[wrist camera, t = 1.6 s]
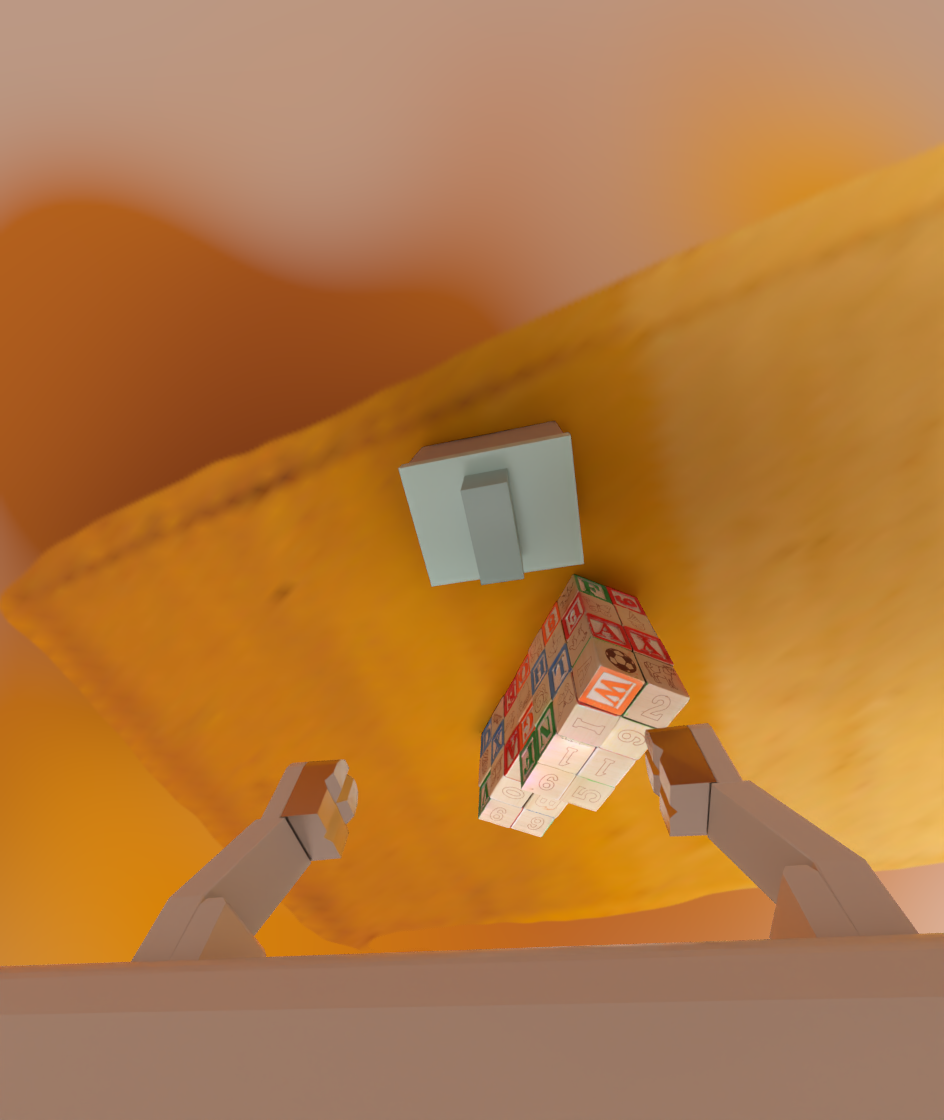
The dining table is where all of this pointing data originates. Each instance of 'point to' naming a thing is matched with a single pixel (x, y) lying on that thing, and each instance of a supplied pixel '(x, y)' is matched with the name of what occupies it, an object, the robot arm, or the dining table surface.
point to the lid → (496, 511)
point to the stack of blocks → (576, 709)
